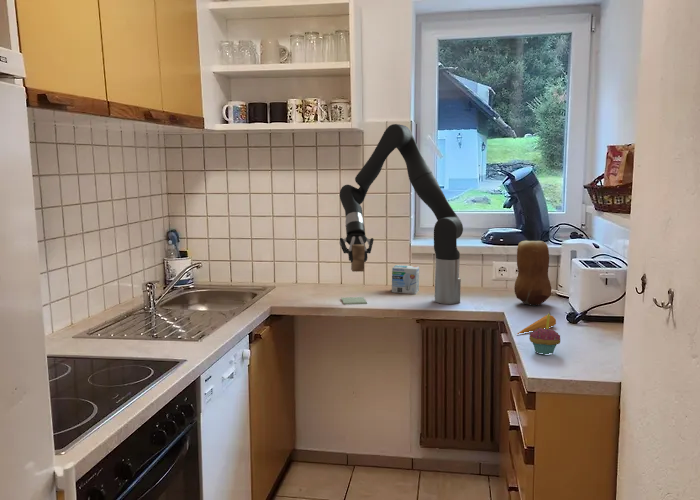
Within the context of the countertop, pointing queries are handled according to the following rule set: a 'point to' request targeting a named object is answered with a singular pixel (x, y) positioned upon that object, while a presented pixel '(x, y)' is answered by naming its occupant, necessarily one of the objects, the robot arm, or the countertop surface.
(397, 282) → the light bulb box
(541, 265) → the butternut squash
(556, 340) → the cupcake
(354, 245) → the walnut block
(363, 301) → the coaster
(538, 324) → the carrot
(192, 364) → the countertop surface
